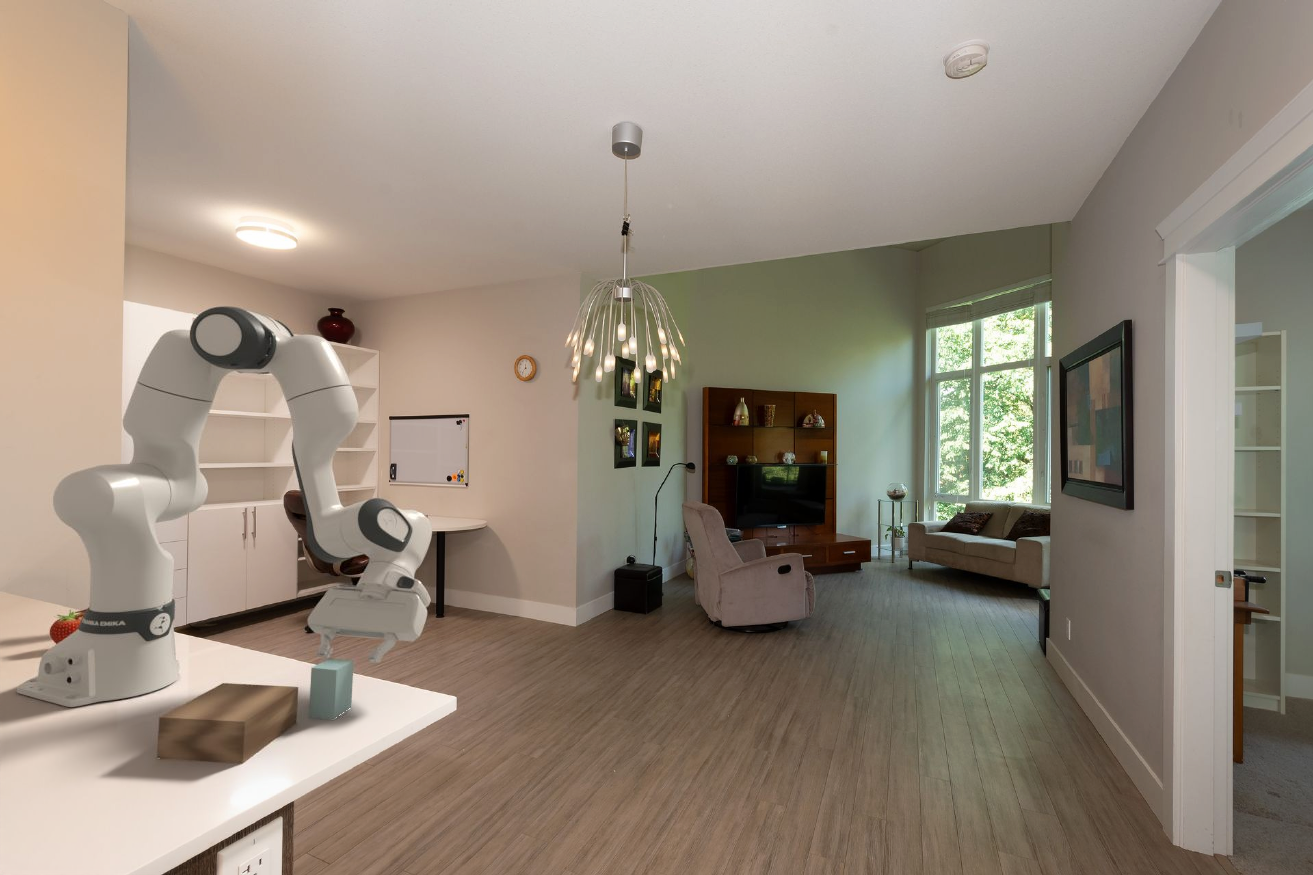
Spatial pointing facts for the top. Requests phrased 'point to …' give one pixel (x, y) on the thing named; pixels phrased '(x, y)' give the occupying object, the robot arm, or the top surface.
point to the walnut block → (227, 723)
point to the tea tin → (331, 688)
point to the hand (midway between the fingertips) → (347, 658)
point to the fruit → (64, 626)
